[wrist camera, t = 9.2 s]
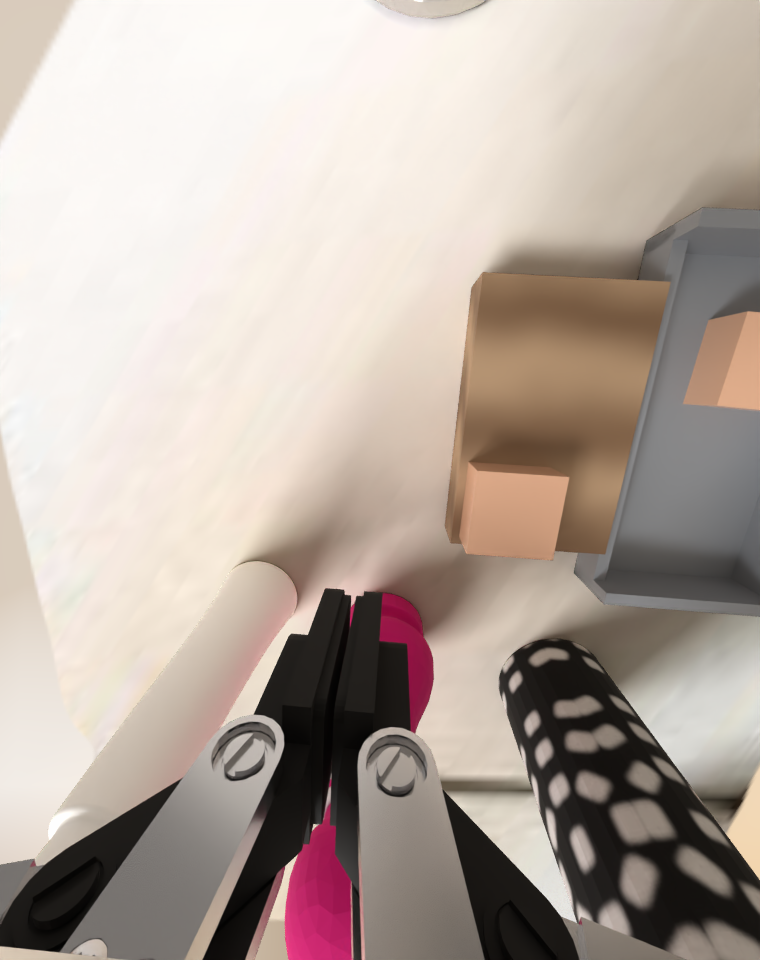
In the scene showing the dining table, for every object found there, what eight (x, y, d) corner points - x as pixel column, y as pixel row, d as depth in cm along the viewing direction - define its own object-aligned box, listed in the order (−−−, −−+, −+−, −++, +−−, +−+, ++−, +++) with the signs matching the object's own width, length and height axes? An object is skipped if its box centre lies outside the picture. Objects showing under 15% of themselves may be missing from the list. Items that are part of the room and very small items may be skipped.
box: (646, 240, 21) (702, 207, 17) (846, 250, 21) (950, 218, 17) (573, 572, 27) (603, 604, 23) (730, 584, 26) (788, 618, 22)
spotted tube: (623, 666, 28) (1104, 1256, 9) (562, 736, 30) (850, 1340, 11) (535, 622, 28) (849, 1154, 8) (479, 696, 30) (630, 1263, 11)
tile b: (468, 461, 22) (477, 470, 19) (550, 467, 22) (569, 477, 19) (459, 536, 23) (466, 553, 21) (536, 542, 23) (552, 560, 21)
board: (471, 287, 22) (482, 272, 19) (634, 295, 22) (670, 281, 19) (444, 525, 26) (450, 543, 23) (581, 536, 26) (605, 554, 23)
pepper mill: (347, 577, 28) (230, 1018, 8) (437, 596, 28) (531, 1078, 8) (332, 653, 30) (208, 1159, 10) (417, 671, 30) (454, 1207, 10)
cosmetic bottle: (248, 636, 29) (-141, 1281, 8) (209, 577, 28) (-365, 1153, 7) (311, 611, 29) (59, 1261, 7) (274, 548, 27) (-160, 1112, 6)
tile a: (842, 320, 19) (792, 327, 21) (747, 311, 19) (708, 319, 21) (805, 414, 20) (761, 411, 23) (716, 405, 20) (682, 403, 23)
